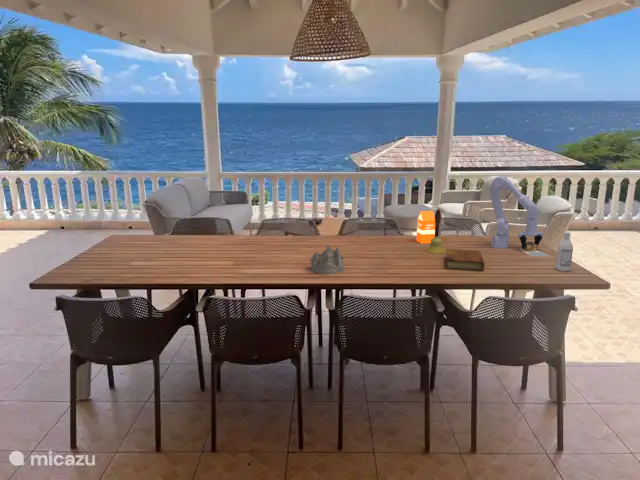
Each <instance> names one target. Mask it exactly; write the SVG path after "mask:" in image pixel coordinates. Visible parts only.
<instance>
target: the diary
mask: <svg viewBox="0 0 640 480" xmlns="http://www.w3.org/2000/svg"><path fill="white" fill-rule="evenodd" d="M445 250H446V253H445V255H446V256H445V265H446V267H445V268H446V270H453V271H454V270H455V271H471V272H484V271H485V261H484V259H483V256H482V253H481V251H480V250H476V249H474V250H471V249H453V248H445Z"/></svg>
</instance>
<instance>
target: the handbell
mask: <svg viewBox="0 0 640 480" xmlns="http://www.w3.org/2000/svg"><path fill="white" fill-rule="evenodd" d="M435 210H436V211H435V213H434V217H435V236H434V238H433V239H431V243H429V244H430V245H429V246H428V247H427V248H425V252H426V253H429V254H433V255H442V254H443V255H444V254H446V248H444V247H443V240H442V239H441V238H440V236H439V235H440V234H439V233H440V223H441V220H442V219H441V217H442V213H441V210H440V209H435Z"/></svg>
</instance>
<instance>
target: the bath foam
mask: <svg viewBox="0 0 640 480" xmlns="http://www.w3.org/2000/svg"><path fill="white" fill-rule="evenodd" d="M573 250H574V246H573V242H572V241H571V232H570V231H564V233H563V239H561V241H560V242H559V244H558V247H557V256H556V264H555V269H556V270H557V271H562V272H569V271H570V270H571V268H572V259H573V252H574V251H573Z"/></svg>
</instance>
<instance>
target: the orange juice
mask: <svg viewBox="0 0 640 480" xmlns="http://www.w3.org/2000/svg"><path fill="white" fill-rule="evenodd" d="M434 237H435V213H434V210H424V211H422V210H421V211H419V214H418V217H417V225H416V242H417V243H419V242H420V244H422V245H423V243H424V244H431V239H433V238H434Z"/></svg>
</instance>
